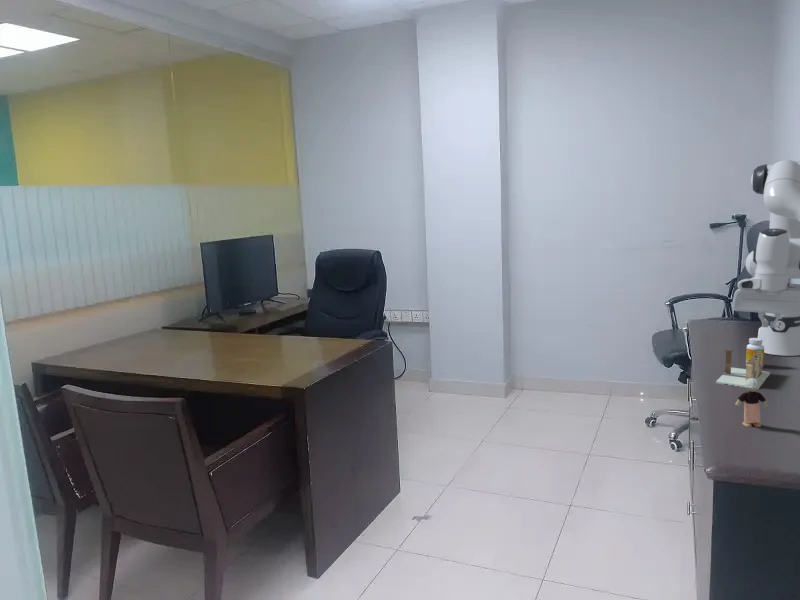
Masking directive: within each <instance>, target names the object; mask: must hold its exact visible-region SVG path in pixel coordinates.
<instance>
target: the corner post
mask: <svg viewBox="0 0 800 600" xmlns="http://www.w3.org/2000/svg"><path fill="white" fill-rule="evenodd" d="M724 352H725V364H724V365H725V367H724V368H725V369H724V373H727V374H730V373H731V367H732V356H733V355H732V353H733V349H728V348H726V349H725V351H724Z"/></svg>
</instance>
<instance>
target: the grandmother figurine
mask: <svg viewBox="0 0 800 600" xmlns="http://www.w3.org/2000/svg"><path fill="white" fill-rule="evenodd" d="M759 386H760V384H759V383H758V380H757V379H754V378H750V379H747V381H746V382H745V387H746V388H745V387H744V388H745V389H747V392H744V393H743V392H742V393H741V394H740V395H739V396H738V398H737V400H736V402H735V404H734V405H735V406H737V407H740V405H741V404H742V403H743V402H744V406H743V408H744V409H743V410H744V411H743V421H742V423H741V424H742V426H745V427H747V428H752V427H753V426H754V427H756V428H760V427H762V423H761V408H760V402H761V403H762V405H763V407H764V408H768V407H769V404H768V402H767V399H766V398H765V397H764V395H763V394H762V393H761V392H758V390H759V389H760V388H759ZM760 387H761V386H760ZM758 388H759V389H758Z"/></svg>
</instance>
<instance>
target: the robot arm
mask: <svg viewBox="0 0 800 600" xmlns="http://www.w3.org/2000/svg"><path fill="white" fill-rule="evenodd" d="M750 185H751V187H752V190H753V192H755V194H758V195H763V204H764V207H765V208H766V209H767V210H768V211H769V228H767V229H763V230H761V231H760V232H759V234H758V238H757V241H756V242H757V243H756V244H755V245H753V248H752V249H753V250H751V252H750V253H749V254H748V255H747V256H746V259H745V265H744V266H745V270H746V271H747V272H748V274H749V275H750V276H751V277H748V278H744V279H741V280H739V281H738V282H737V289H736V290H735V292H734V294H733V298H732V304H731V305H732V309H733V311H735V312H744V313H745V312H746V313H747V312H748V313H749V312H750V313H758V314H757V315H758V316H757V317H758V319H759V320H760V322H761V326H760V327H759V328H758V333H757V338H760V339H762V344H761V345H763V346H764V354H768V355H774V356H783V357H784V356H785V357H787V356H788V357H789V356H790V357H795V356H796V357H797V356H800V284H798V283H789V279H790V280H791V279H796V280H800V161H795V160H791V159H783V160H779V161H778V162H776V163H772V164H766V163H765V164H762V165H758V166H757V167H756V168H754V169H753V172H752V174H751V177H750Z"/></svg>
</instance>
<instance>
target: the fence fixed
mask: <svg viewBox="0 0 800 600" xmlns="http://www.w3.org/2000/svg"><path fill="white" fill-rule="evenodd" d="M753 358H756V360H757V367H756V378H757V377H758V376H759V375H760V373H761V372H762V371H763V367H762V358H763V353H762V352H761V351H757V353H755V355H753Z"/></svg>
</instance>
